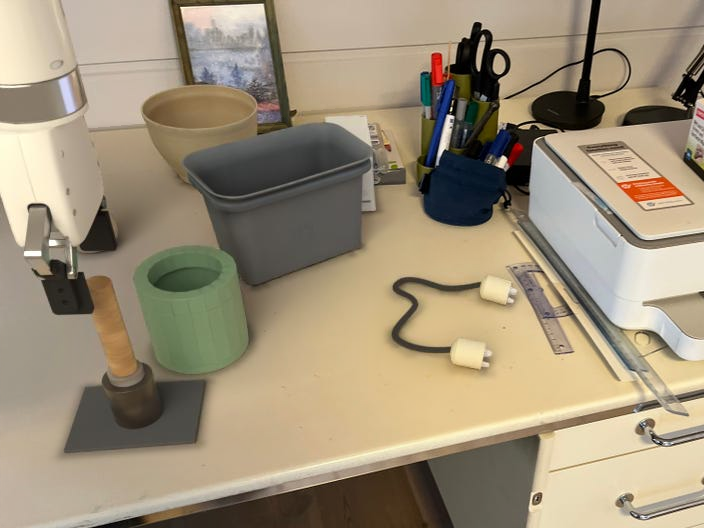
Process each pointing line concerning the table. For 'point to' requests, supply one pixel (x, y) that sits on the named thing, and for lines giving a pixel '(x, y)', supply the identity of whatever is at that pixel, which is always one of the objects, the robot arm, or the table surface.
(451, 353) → the cable
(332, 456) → the table surface
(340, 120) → the cosmetics box
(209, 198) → the storage bin
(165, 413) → the mat
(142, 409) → the brush
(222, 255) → the jar
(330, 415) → the table surface
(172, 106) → the planter bowl
